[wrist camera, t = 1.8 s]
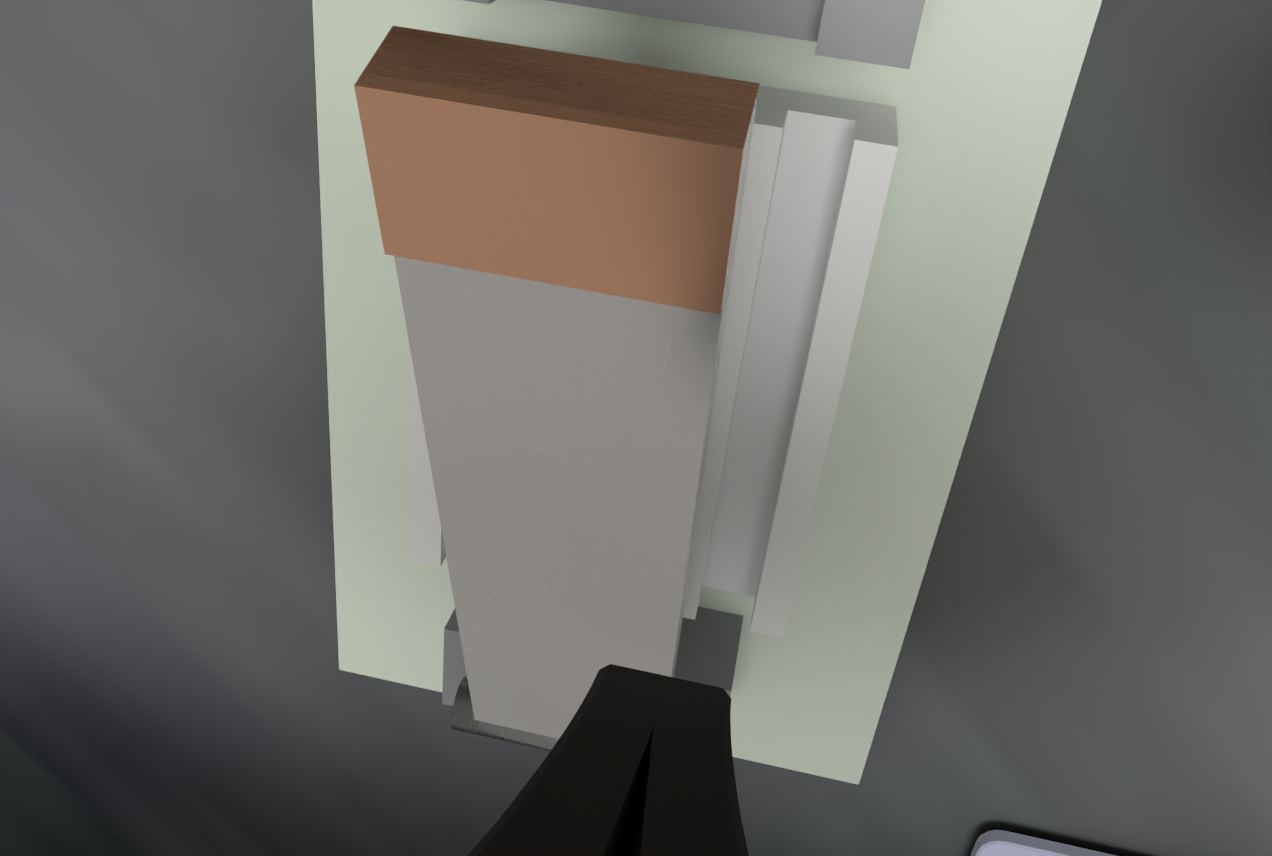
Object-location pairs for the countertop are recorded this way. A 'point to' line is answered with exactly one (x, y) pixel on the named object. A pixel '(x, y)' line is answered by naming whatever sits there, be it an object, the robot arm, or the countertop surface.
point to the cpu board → (742, 332)
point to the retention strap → (558, 344)
